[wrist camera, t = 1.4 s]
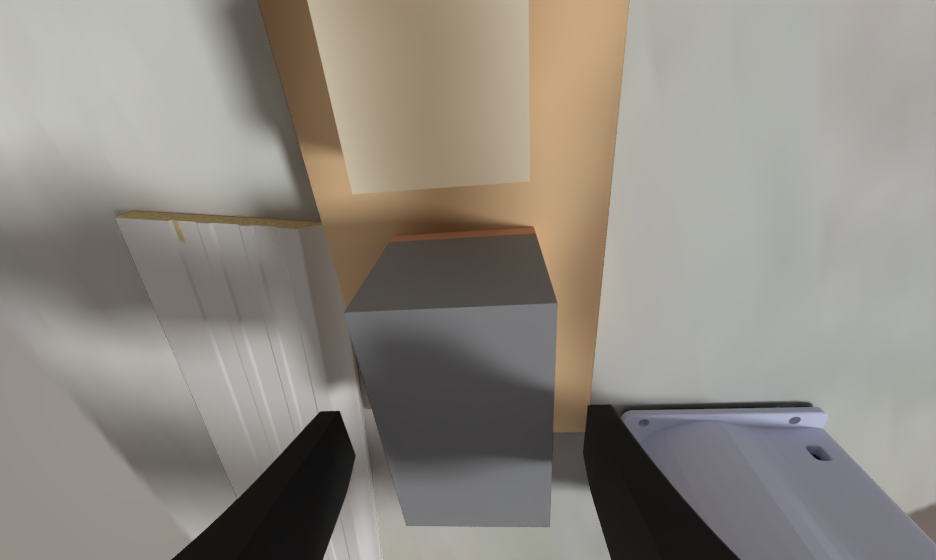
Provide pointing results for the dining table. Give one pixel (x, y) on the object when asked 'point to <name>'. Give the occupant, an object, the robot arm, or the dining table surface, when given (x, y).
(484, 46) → the beige cube
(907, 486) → the dining table surface
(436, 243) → the block
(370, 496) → the baseboard
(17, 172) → the dining table surface
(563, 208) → the board
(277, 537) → the robot arm
